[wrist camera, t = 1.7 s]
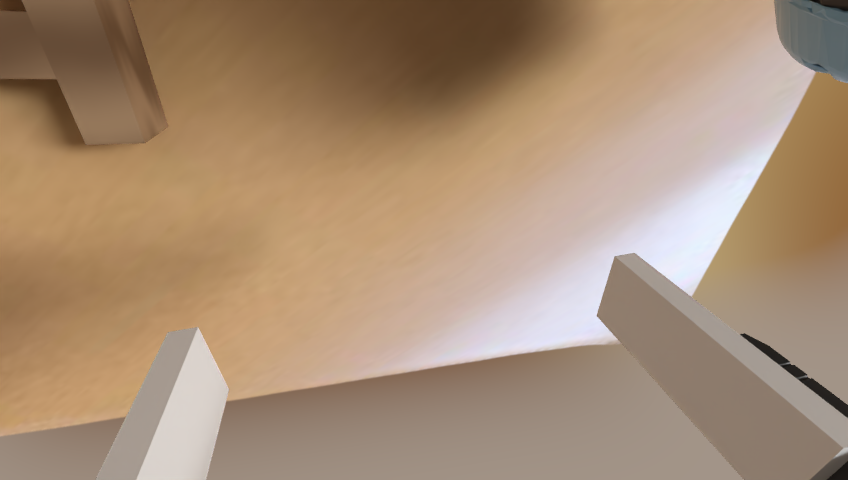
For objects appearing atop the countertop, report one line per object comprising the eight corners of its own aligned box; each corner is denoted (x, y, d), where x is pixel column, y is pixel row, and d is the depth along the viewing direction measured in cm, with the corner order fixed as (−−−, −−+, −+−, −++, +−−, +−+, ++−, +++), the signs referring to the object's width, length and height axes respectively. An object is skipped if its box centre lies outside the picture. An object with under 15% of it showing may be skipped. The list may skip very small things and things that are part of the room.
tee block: (168, 126, 25) (145, 143, 22) (-12, 130, 23) (-68, 149, 20) (108, -61, 20) (66, -76, 17) (-131, -79, 18) (-235, -101, 14)
